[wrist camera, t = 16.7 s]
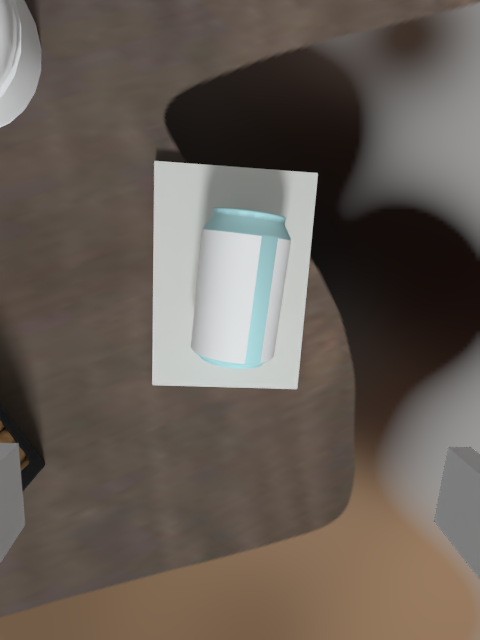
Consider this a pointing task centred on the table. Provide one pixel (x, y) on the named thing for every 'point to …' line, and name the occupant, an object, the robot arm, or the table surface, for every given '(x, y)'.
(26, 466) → the ammunition clip
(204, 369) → the mat
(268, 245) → the can
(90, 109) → the table surface
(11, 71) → the honey pot
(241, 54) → the table surface
